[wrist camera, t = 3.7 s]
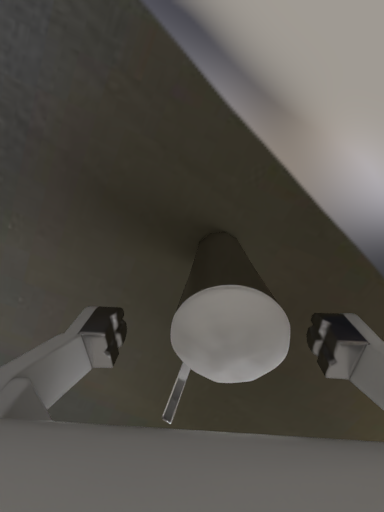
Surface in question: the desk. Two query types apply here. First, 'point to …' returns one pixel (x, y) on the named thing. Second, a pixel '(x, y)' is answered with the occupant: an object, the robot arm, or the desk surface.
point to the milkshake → (226, 320)
